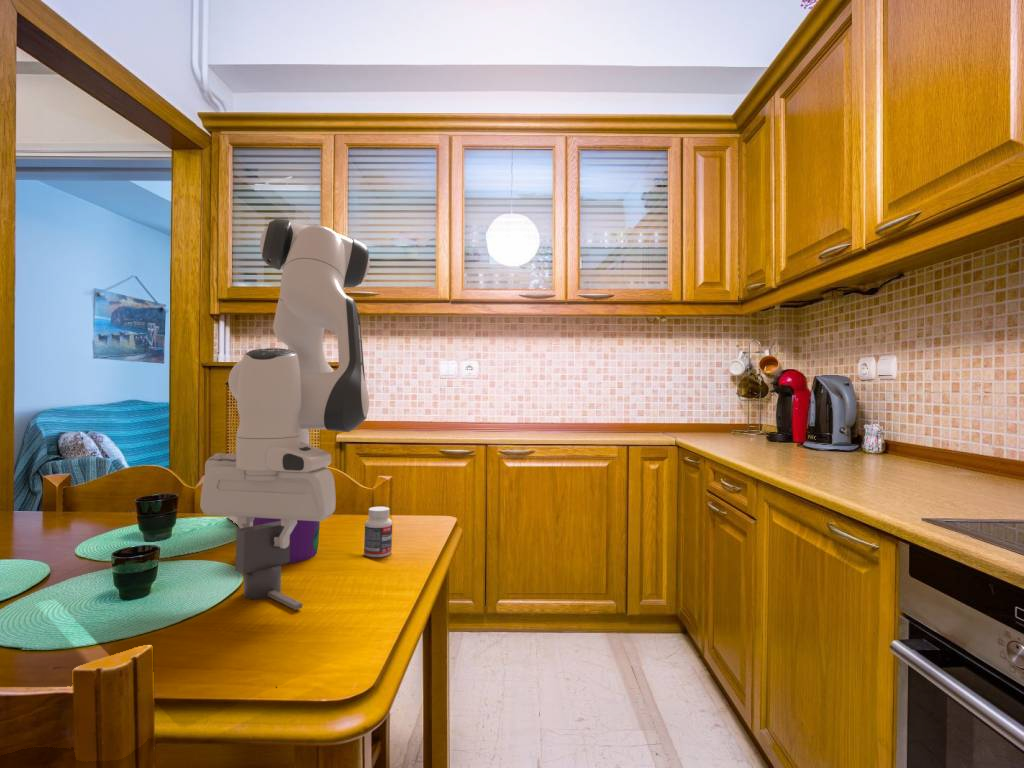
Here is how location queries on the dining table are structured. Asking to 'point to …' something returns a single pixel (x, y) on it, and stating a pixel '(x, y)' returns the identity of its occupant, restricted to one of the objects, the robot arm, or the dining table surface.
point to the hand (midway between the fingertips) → (267, 546)
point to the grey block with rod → (262, 562)
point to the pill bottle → (378, 533)
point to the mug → (299, 538)
